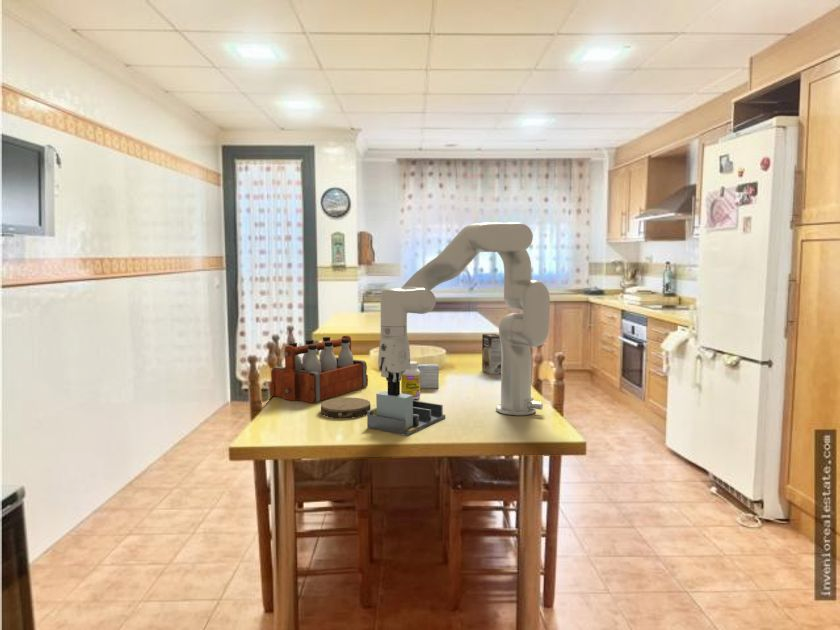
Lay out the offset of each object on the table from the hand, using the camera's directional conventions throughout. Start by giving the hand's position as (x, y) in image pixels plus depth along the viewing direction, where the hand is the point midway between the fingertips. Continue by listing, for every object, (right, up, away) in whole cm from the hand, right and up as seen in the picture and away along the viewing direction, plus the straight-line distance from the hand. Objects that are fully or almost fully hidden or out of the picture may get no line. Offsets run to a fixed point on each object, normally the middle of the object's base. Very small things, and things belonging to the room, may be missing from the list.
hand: (393, 394), depth 168 cm
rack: (+4, -9, +7) cm, 12 cm away
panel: (0, -9, +1) cm, 9 cm away
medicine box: (+11, -5, +55) cm, 56 cm away
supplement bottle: (+4, -7, +37) cm, 38 cm away
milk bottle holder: (-29, -6, +48) cm, 56 cm away
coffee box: (+39, -2, +84) cm, 92 cm away
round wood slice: (-16, -9, +20) cm, 27 cm away
